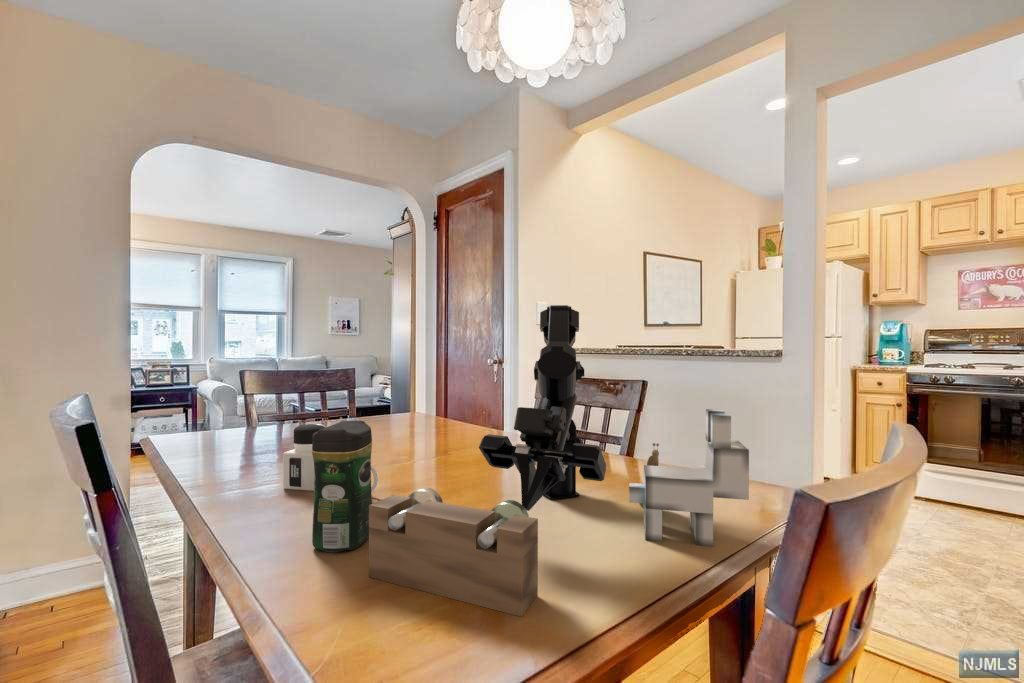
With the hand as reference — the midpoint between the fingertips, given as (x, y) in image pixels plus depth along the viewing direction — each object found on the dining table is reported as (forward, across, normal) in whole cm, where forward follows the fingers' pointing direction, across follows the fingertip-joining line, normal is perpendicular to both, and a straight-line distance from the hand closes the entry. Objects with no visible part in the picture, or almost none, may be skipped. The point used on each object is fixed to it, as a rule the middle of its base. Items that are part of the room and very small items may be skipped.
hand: (525, 509), depth 69 cm
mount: (+12, -6, -2) cm, 14 cm away
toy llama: (-9, +19, +21) cm, 29 cm away
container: (-4, -57, +16) cm, 60 cm away
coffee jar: (+9, -29, +2) cm, 30 cm away
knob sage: (+8, 0, -5) cm, 9 cm away
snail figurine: (-15, +13, +27) cm, 34 cm away
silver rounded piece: (+8, -13, -5) cm, 16 cm away
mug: (-3, -44, +16) cm, 47 cm away
